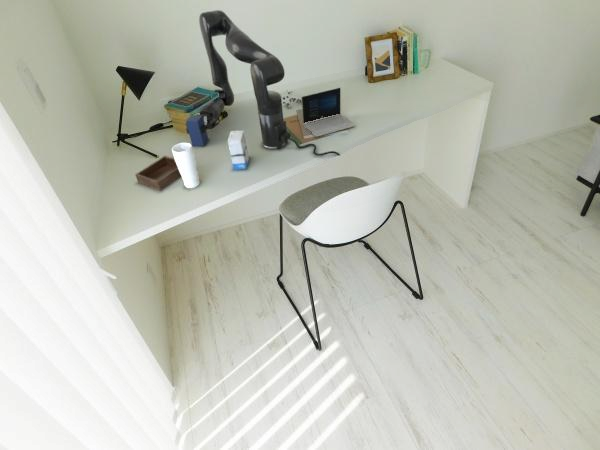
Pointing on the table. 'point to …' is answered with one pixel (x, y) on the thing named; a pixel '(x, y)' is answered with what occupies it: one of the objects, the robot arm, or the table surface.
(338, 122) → the laptop
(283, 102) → the molecule model
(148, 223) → the table surface
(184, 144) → the drinking glass
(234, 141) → the ink box
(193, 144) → the carton
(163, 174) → the desk tray
